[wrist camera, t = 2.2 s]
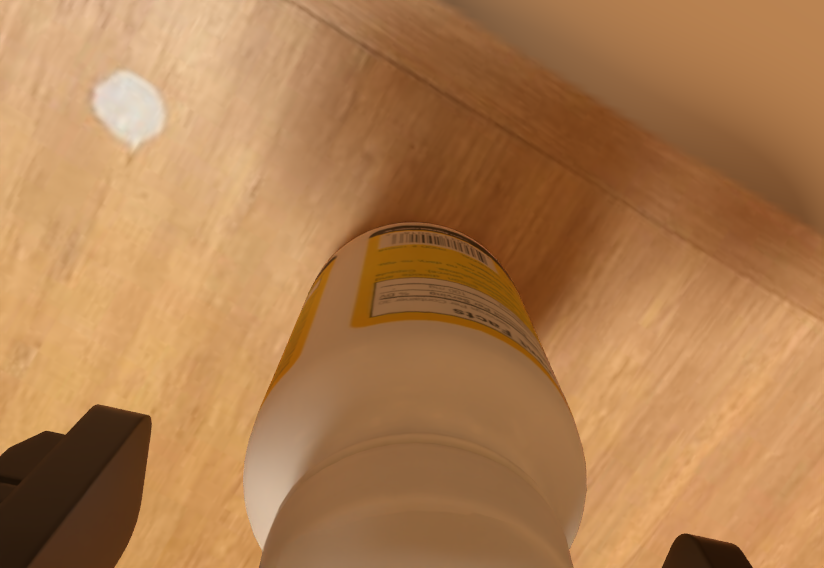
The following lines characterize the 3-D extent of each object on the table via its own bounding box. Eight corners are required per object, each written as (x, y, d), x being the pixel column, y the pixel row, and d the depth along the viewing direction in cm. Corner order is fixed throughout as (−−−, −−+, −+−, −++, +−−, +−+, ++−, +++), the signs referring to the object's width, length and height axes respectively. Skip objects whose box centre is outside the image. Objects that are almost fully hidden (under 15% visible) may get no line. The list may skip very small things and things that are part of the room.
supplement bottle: (375, 447, 18) (330, 856, 9) (267, 280, 17) (76, 566, 7) (557, 361, 17) (717, 716, 8) (460, 177, 16) (521, 353, 6)
